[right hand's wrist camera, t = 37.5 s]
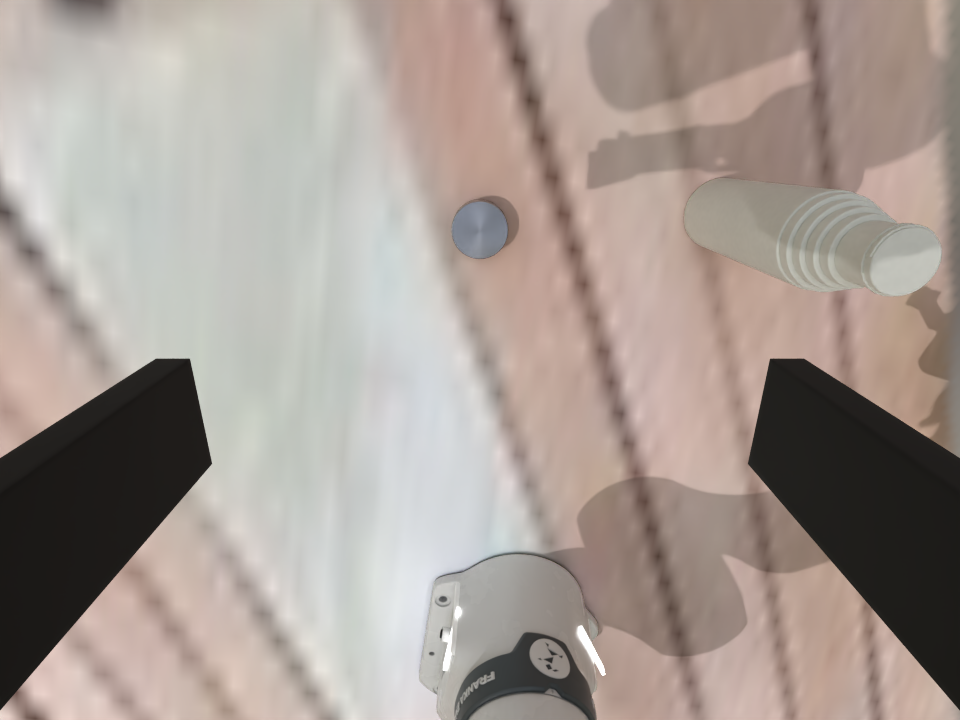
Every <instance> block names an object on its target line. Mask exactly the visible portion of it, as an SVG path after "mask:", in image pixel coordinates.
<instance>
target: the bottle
mask: <svg viewBox="0 0 960 720" xmlns="http://www.w3.org/2000/svg"><path fill="white" fill-rule="evenodd" d="M684 226H685V229H686V232H687V234H688V235H689V237H690V238H691V239H692V240H693V241H694V242H695V243H696V244H698V245H700V246H702V247H704V248H707V249H709V250H712V251H714V252H716V253H719V254H721V255H723V256H726V257H728V258H730V259H733V260H735V261H737V262H740V263H742V264H744V265H747V266H749V267H751V268H754V269H756V270H758V271H761V272H763V273H766V274H768V275H770V276H773V277H775V278H777V279H780V280H782V281H784V282H787V283H789V284H791V285H794V286H796V287H799V288H801V289H805V290H812V291H817V292H831V291H839V290H847V289H854V288H868V289H870V290H871V291H872V292H874V293H876V294H879V295H882V296H903V295H907V294H910V293H913V292H915V291H917V290H918V289H920V288H921V287H923V286H924V285H925V284H926V283H927V282H928V281H930V279H931V278H932V277H933V276H934V274H935V273H936V271H937V269H938V267H939V265H940V261H941V257H942V248H941V244H940V241H939V239H938V238H937V237H936V235H935V234H934V232H933V231H931V230H930V229H929V228H927V227H924V226H921V225H915V224H911V223H901V224H898V223H897V222H896V221H895V220H893V219H892V218H890V217H889V216H888V215H887V214H886V213H885V212H883V210H881V209H880V208H879V207H878V206H877V205H876V204H875V203H874V202H873V201H871V200H870V199H868V198H866V197H864V196H861V195H858V194H856V193H854V192H850V191H846V190H837V189H827V188H818V187H808V186H799V185H789V184H780V183H770V182H761V181H751V180H742V179H732V178H717V179H713V180H710V181H708V182H706V183H704V184H703V185H701V186H700V187H699V188H698V189H697V190H696V191H695V192H694V193H693V194H692V195H691V197H690V199H689V200H688V202H687V205H686V207H685V211H684Z"/></svg>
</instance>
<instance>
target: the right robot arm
mask: <svg viewBox="0 0 960 720" xmlns="http://www.w3.org/2000/svg"><path fill="white" fill-rule="evenodd" d="M211 464H212V461H211V457H210V452H209V447H208V442H207V438H206V433H205V428H204V423H203V419H202V414H201V409H200V405H199V400H198V395H197V390H196V386H195V381H194V376H193V371H192V367H191V362H190V359H155V360H153V361H152V362H150V363H149V364H147V365H145V366H144V367H142V368H141V369H139V370H138V371H136V372H134V373H133V374H131V375H130V376H128V377H127V378H125V379H124V380H122V381H120V382H119V383H117V384H116V385H114V386H113V387H111V388H109V389H108V390H106V391H105V392H103V393H102V394H100V395H98V396H97V397H95V398H94V399H92V400H91V401H89V402H87V403H86V404H84V405H83V406H81V407H80V408H78V409H77V410H75V411H73V412H72V413H70V414H69V415H67V416H66V417H64V418H62V419H61V420H59V421H58V422H56V423H55V424H53V425H51V426H50V427H48V428H47V429H45V430H44V431H42V432H41V433H39V434H37V435H36V436H34V437H33V438H31V439H30V440H28V441H26V442H25V443H23V444H22V445H20V446H19V447H17V448H15V449H14V450H12V451H11V452H9V453H8V454H6V455H4V456H3V457H1V458H0V710H1V709H2V708H3V706H4V705H5V704H6V703H7V702H8V701H9V699H10V698H11V697H12V696H13V695H14V694H15V692H16V691H17V690H18V689H19V688H20V687H21V685H22V684H23V683H24V682H25V681H26V680H27V679H28V677H29V676H30V675H31V674H32V673H33V672H34V670H35V669H36V668H37V667H38V666H39V665H40V663H41V662H42V661H43V660H44V659H45V658H46V656H47V655H48V654H49V653H50V652H51V651H52V649H53V648H54V647H55V646H56V645H57V644H58V642H59V641H60V640H61V639H62V638H63V637H64V635H65V634H66V633H67V632H68V631H69V630H70V628H71V627H72V626H73V625H74V624H75V623H76V621H77V620H78V619H79V618H80V617H81V616H82V615H83V613H84V612H85V611H86V610H87V609H88V608H89V606H90V605H91V604H92V603H93V602H94V601H95V599H96V598H97V597H98V596H99V595H100V594H101V592H102V591H103V590H104V589H105V588H106V587H107V585H108V584H109V583H110V582H111V581H112V580H113V578H114V577H115V576H116V575H117V574H118V573H119V571H120V570H121V569H122V568H123V567H124V566H125V564H126V563H127V562H128V561H129V560H130V559H131V557H132V556H133V555H134V554H135V553H136V552H137V550H138V549H139V548H140V547H141V546H142V545H143V544H144V542H145V541H146V540H147V539H148V538H149V537H150V535H151V534H152V533H153V532H154V531H155V530H156V528H157V527H158V526H159V525H160V524H161V523H162V521H163V520H164V519H165V518H166V517H167V516H168V514H169V513H170V512H171V511H172V510H173V509H174V507H175V506H176V505H177V504H178V503H179V502H180V500H181V499H182V498H183V497H184V496H185V495H186V493H187V492H188V491H189V490H190V489H191V488H192V486H193V485H194V484H195V483H196V482H197V481H198V480H199V478H200V477H201V476H202V475H203V474H204V473H205V471H206V470H207V469H208V468H209V467H210V466H211ZM748 464H749V466H750V467H751V468H752V469H753V470H754V471H755V473H756V474H757V475H758V476H759V477H760V478H761V480H762V481H763V482H764V483H765V484H766V485H767V486H768V488H769V489H770V490H771V491H772V492H773V493H774V495H775V496H776V497H777V498H778V499H779V500H780V502H781V503H782V504H783V505H784V506H785V507H786V509H787V510H788V511H789V512H790V513H791V514H792V516H793V517H794V518H795V519H796V520H797V521H798V523H799V524H800V525H801V526H802V527H803V528H804V530H805V531H806V532H807V533H808V534H809V535H810V537H811V538H812V539H813V540H814V541H815V542H816V544H817V545H818V546H819V547H820V548H821V549H822V550H823V552H824V553H825V554H826V555H827V556H828V557H829V559H830V560H831V561H832V562H833V563H834V564H835V566H836V567H837V568H838V569H839V570H840V571H841V573H842V574H843V575H844V576H845V577H846V578H847V580H848V581H849V582H850V583H851V584H852V585H853V587H854V588H855V589H856V590H857V591H858V592H859V594H860V595H861V596H862V597H863V598H864V599H865V601H866V602H867V603H868V604H869V605H870V606H871V608H872V609H873V610H874V611H875V612H876V613H877V615H878V616H879V617H880V618H881V619H882V620H883V621H884V623H885V624H886V625H887V626H888V627H889V628H890V630H891V631H892V632H893V633H894V634H895V635H896V637H897V638H898V639H899V640H900V641H901V642H902V644H903V645H904V646H905V647H906V648H907V649H908V651H909V652H910V653H911V654H912V655H913V656H914V658H915V659H916V660H917V661H918V662H919V663H920V665H921V666H922V667H923V668H924V669H925V670H926V672H927V673H928V674H929V675H930V676H931V677H932V679H933V680H934V681H935V682H936V683H937V684H938V685H939V687H940V688H941V689H942V690H943V691H944V692H945V694H946V695H947V696H948V697H949V698H950V699H951V701H952V702H953V703H954V704H955V705H956V706H957V708H958V709H959V710H960V458H959V457H957V456H956V455H954V454H952V453H951V452H949V451H948V450H946V449H945V448H943V447H941V446H940V445H938V444H937V443H935V442H934V441H932V440H930V439H929V438H927V437H926V436H924V435H923V434H921V433H919V432H918V431H916V430H915V429H913V428H912V427H910V426H909V425H907V424H905V423H904V422H902V421H901V420H899V419H898V418H896V417H894V416H893V415H891V414H890V413H888V412H887V411H885V410H883V409H882V408H880V407H879V406H877V405H876V404H874V403H873V402H871V401H869V400H868V399H866V398H865V397H863V396H862V395H860V394H858V393H857V392H855V391H854V390H852V389H851V388H849V387H847V386H846V385H844V384H843V383H841V382H840V381H838V380H836V379H835V378H833V377H832V376H830V375H829V374H827V373H826V372H824V371H822V370H821V369H819V368H818V367H816V366H815V365H813V364H811V363H810V362H808V361H807V360H805V359H770V362H769V367H768V371H767V376H766V381H765V386H764V390H763V395H762V400H761V405H760V409H759V414H758V419H757V423H756V428H755V433H754V438H753V442H752V447H751V452H750V457H749V461H748Z"/></svg>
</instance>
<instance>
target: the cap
mask: <svg viewBox="0 0 960 720" xmlns="http://www.w3.org/2000/svg"><path fill="white" fill-rule="evenodd" d="M507 236H508V225H507V221H506V218H505V216H504V214H503V212H502V210H501V209H500V208H499V207H498V206H497V205H496V204H494V203H493V202H491V201H488V200H484V199H476V200H472V201H469V202H467V203H465V204H464V205H463V206H462V207H461V208H460V209H459V210H458V211H457V213H456V215H455V217H454V220H453V223H452V237H453V240H454V243H455V245H456V246H457V248H458V249H459V250H460V251H461V252H462V253H463V254H465V255H467V256H469V257H471V258H475V259H484V258H488V257H491V256H493V255H495V254H496V253H498V252H499V251H500V250H501V249H502V247H503V246H504V244H505V242H506V239H507Z"/></svg>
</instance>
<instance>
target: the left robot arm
mask: <svg viewBox="0 0 960 720" xmlns="http://www.w3.org/2000/svg"><path fill="white" fill-rule="evenodd" d="M441 596H445V597H441ZM597 635H598V625H597V621H596V619H595V618H594V617H593V616H592V614H591V613H590V612H589V611H588V610H587V609H586V607H585V604H584V600H583V595H582V592H581V589H580V587H579V585H578V583H577V581H576V580H575V578H574V577H573V576H572V575H571V574H570V573H569V572H568V571H567V570H566V569H564V568H563V567H562V566H560V565H558V564H557V563H555V562H553V561H550V560H548V559H545V558H542V557H538V556H534V555H526V554H510V555H502V556H498V557H494V558H491V559H488V560H485V561H483V562H481V563H479V564H477V565H475V566H474V567H472V568H470V569H468V570H466V571H464V572H462V573H456V574H450V575H446V576H442V577H440V578H438V579H436V580H435V582H434V584H433V589H432V595H431V601H430V607H429V613H428V619H427V626H426V632H425V638H424V644H423V650H422V656H421V662H420V669H419V680H420V682H421V683H422V684H423V685H424V686H425V687H426V688H428V689H429V690H430V691H432V692H433V693H435V694H437V707H436V709H437V714H438V716H439V717H440V718H441V720H597V719H596V718H597V717H596V710H595V705H594V701H593V699H592V696H591V695H592V694H593V692H595V691H596V688H597V678H596V670H595V662H596V664H597V666H598V668H599V670H600V672H601V674H602V675H605V671H604V667H603V665H602V663H601V661H600V659H599V657H598V655H597V653H596V651H595V650H594V648H593V646H592V641H593V640H594V638H595V637H596V636H597ZM594 660H595V662H594Z"/></svg>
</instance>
